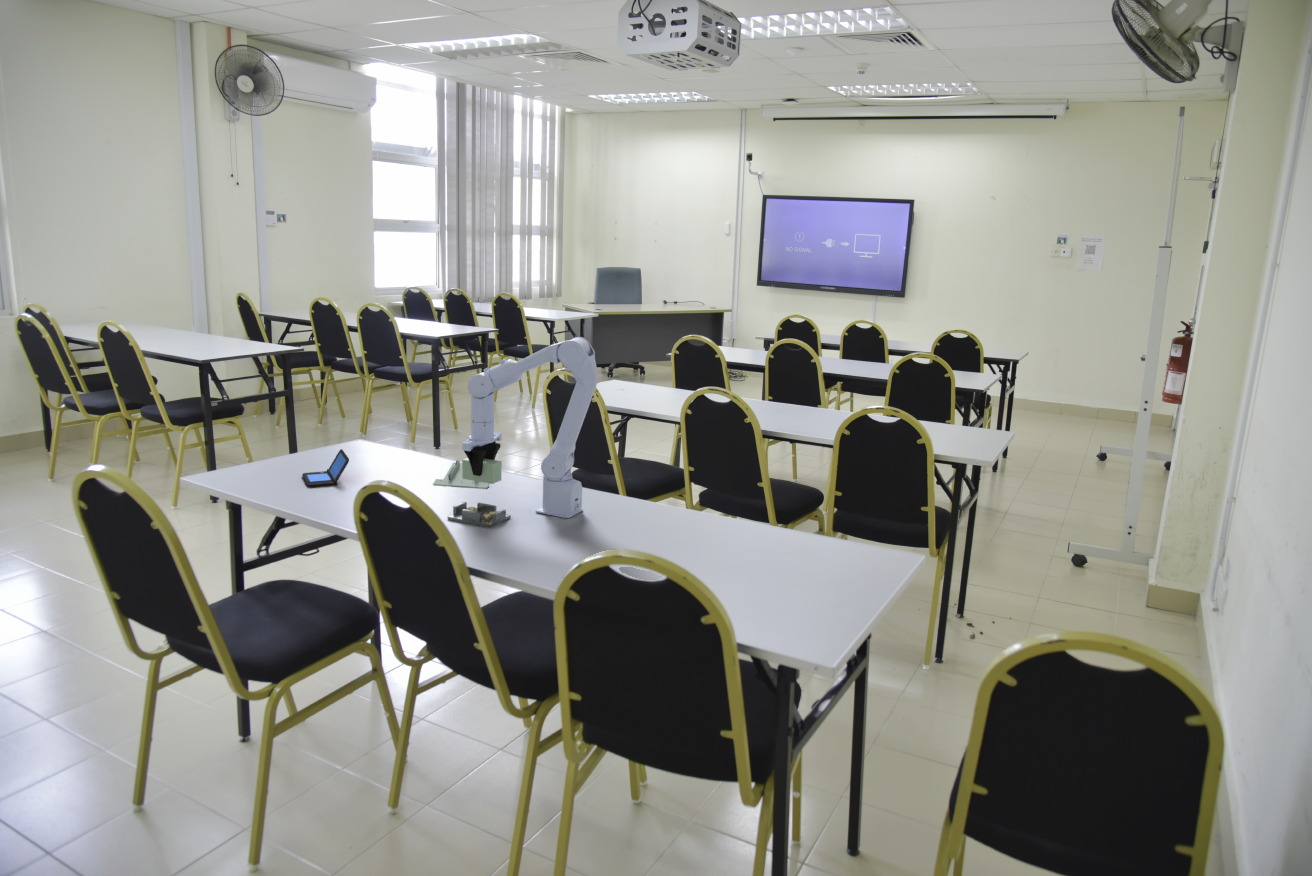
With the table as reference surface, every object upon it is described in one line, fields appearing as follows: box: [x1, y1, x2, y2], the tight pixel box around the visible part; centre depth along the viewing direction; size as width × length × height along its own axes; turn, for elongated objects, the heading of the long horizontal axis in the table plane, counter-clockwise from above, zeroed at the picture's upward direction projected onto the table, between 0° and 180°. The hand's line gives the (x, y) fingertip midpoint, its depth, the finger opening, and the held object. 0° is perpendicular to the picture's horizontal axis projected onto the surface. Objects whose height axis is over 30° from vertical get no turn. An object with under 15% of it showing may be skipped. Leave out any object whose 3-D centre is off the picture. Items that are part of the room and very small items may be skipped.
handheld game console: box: [301, 448, 350, 489], centre depth 232 cm, size 12×11×7 cm
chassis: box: [447, 501, 512, 529], centre depth 207 cm, size 12×9×3 cm
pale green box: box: [461, 457, 502, 485], centre depth 217 cm, size 9×4×5 cm, turn 67°
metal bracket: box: [432, 459, 490, 490], centre depth 239 cm, size 14×6×15 cm
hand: (482, 473), depth 217 cm, fingers closed on pale green box, 4 cm apart
